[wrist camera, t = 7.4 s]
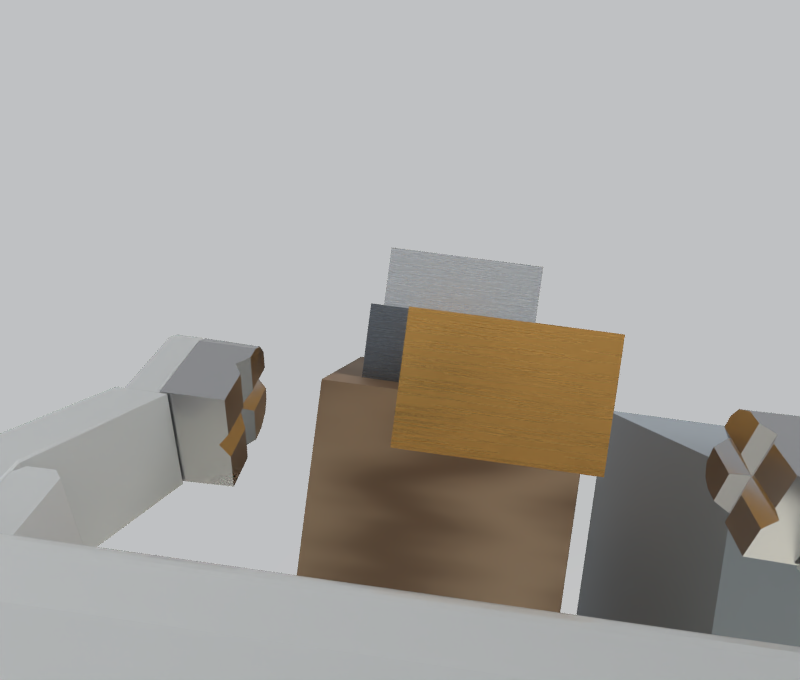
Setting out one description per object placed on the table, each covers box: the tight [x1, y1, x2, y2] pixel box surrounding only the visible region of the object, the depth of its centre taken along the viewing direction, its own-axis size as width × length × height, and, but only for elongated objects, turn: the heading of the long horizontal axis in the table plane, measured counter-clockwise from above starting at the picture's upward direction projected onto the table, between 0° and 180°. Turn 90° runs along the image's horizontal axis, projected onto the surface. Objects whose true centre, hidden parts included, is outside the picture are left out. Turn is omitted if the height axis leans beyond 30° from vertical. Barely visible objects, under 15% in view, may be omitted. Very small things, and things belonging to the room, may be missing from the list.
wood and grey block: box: [362, 248, 625, 477], centre depth 17 cm, size 6×20×4 cm, turn 178°
